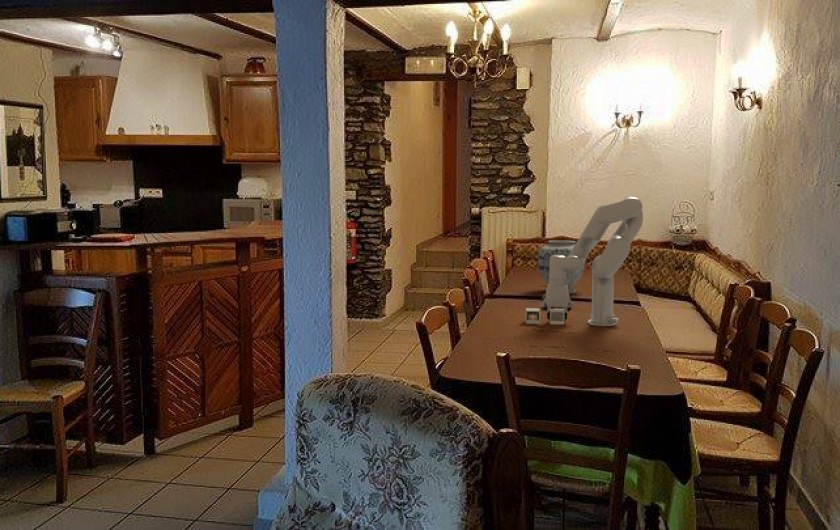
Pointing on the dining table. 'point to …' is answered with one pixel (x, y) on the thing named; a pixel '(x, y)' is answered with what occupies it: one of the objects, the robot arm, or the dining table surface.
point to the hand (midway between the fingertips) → (557, 320)
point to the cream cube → (556, 316)
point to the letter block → (532, 316)
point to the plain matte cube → (533, 310)
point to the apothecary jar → (558, 249)
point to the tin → (553, 307)
